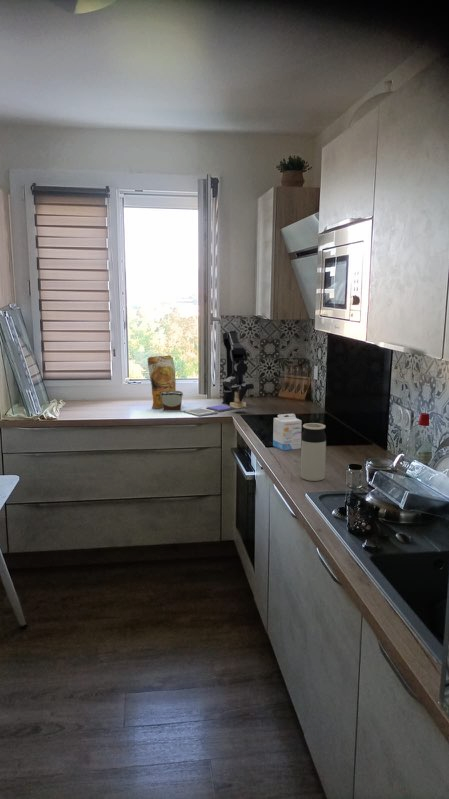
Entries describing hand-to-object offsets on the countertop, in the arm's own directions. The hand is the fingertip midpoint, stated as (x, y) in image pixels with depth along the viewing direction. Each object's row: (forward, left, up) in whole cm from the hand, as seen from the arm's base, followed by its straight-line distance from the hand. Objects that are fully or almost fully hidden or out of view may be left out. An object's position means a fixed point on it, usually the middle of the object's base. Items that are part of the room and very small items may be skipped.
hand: (238, 400), depth 287 cm
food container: (+22, -28, -6) cm, 36 cm away
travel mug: (+51, +96, -6) cm, 109 cm away
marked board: (+16, -12, -6) cm, 21 cm away
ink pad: (+2, -12, -6) cm, 14 cm away
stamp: (0, 0, -4) cm, 4 cm away
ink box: (+30, +64, -6) cm, 71 cm away
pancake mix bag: (+21, -39, -6) cm, 45 cm away
